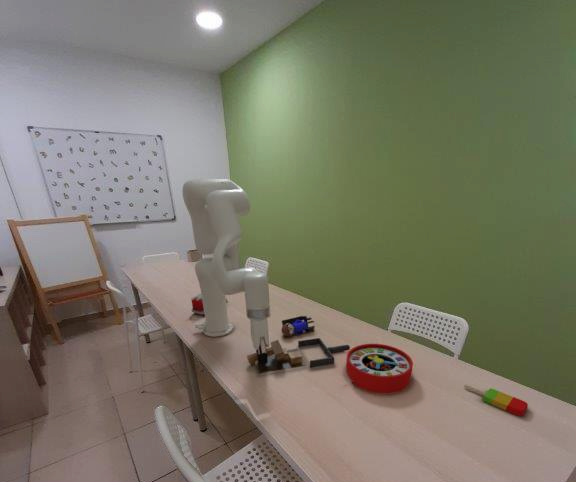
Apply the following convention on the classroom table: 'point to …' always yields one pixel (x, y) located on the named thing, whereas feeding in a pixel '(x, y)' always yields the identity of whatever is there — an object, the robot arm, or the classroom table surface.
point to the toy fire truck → (198, 304)
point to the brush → (269, 353)
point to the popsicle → (503, 401)
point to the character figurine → (296, 325)
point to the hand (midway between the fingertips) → (262, 360)
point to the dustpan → (326, 350)
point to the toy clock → (379, 368)
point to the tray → (277, 364)
